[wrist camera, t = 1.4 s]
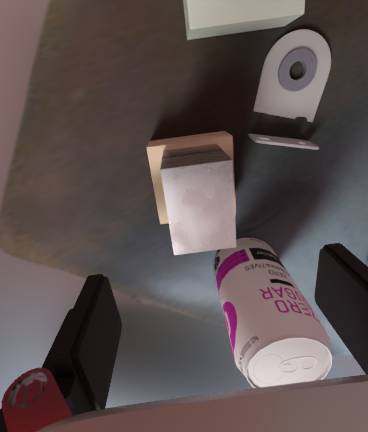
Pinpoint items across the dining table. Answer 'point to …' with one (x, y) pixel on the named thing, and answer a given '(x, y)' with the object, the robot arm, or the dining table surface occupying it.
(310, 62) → the bracket
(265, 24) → the stand
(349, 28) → the dining table surface
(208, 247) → the block
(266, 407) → the robot arm
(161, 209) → the stand
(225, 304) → the supplement can
